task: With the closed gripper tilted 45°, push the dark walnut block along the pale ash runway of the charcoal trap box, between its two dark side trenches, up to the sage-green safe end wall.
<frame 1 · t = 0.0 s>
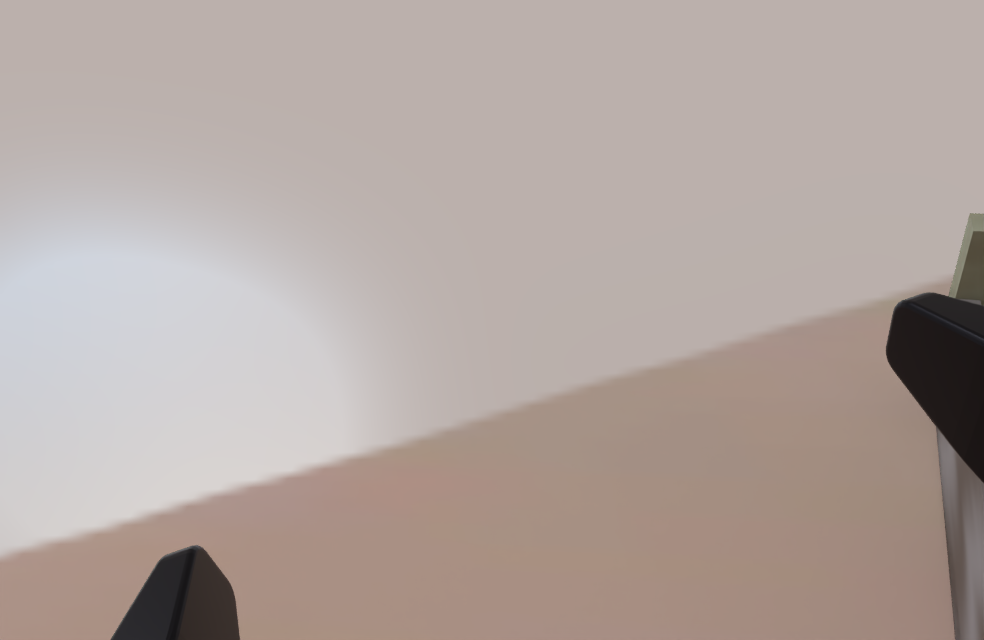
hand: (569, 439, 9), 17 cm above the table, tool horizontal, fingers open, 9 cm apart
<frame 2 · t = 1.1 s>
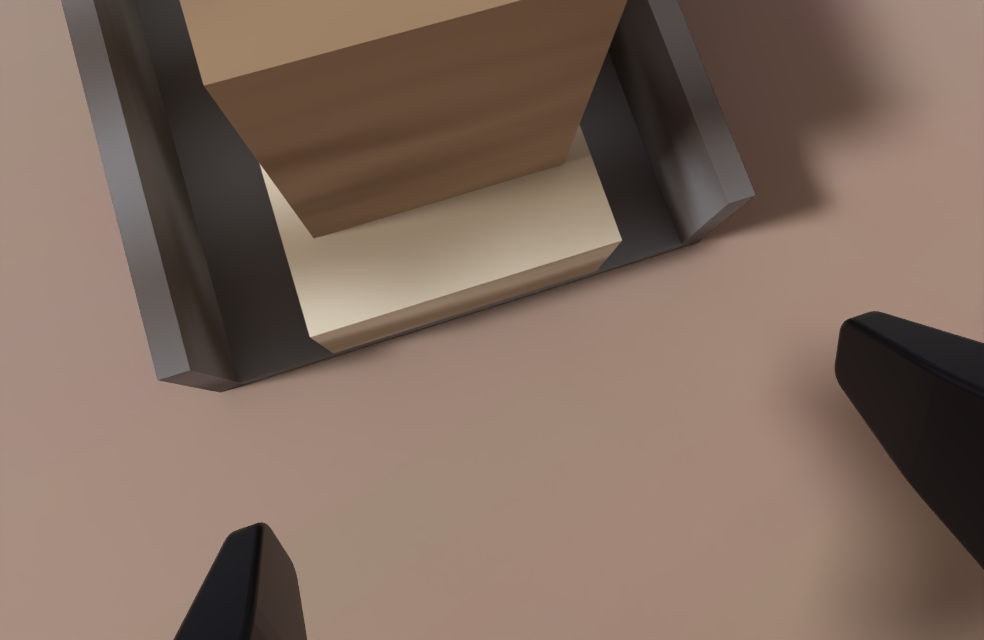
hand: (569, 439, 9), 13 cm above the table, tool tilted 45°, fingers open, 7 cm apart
trap box: (385, 64, 23), on the table
walnut block: (397, 68, 19), point 4 cm above the table, touching trap box
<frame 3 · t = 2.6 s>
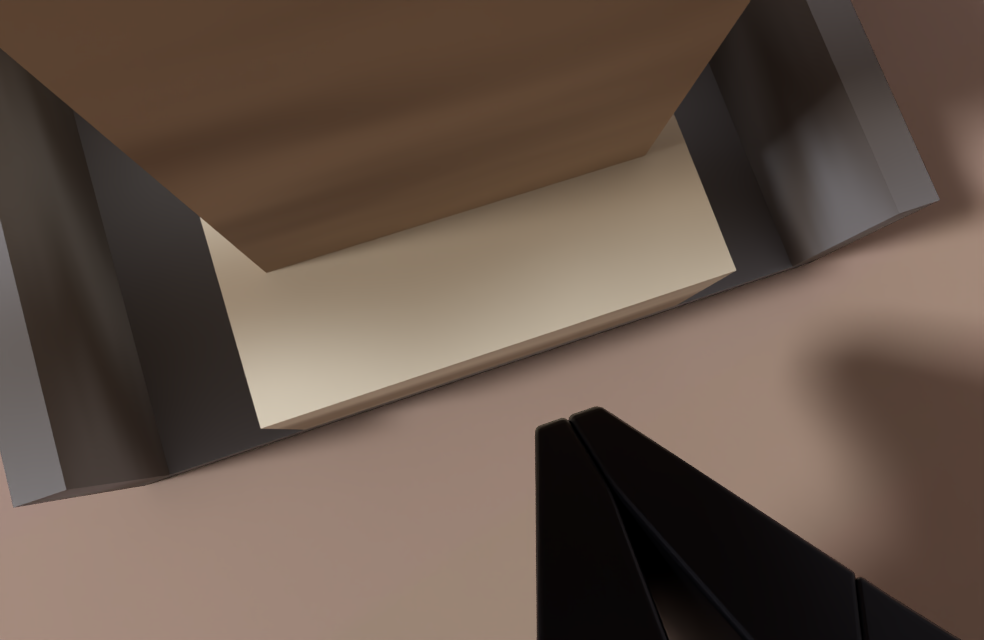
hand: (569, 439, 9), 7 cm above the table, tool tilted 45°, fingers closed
trap box: (376, 21, 17), on the table
walnut block: (392, 13, 13), point 4 cm above the table, touching trap box
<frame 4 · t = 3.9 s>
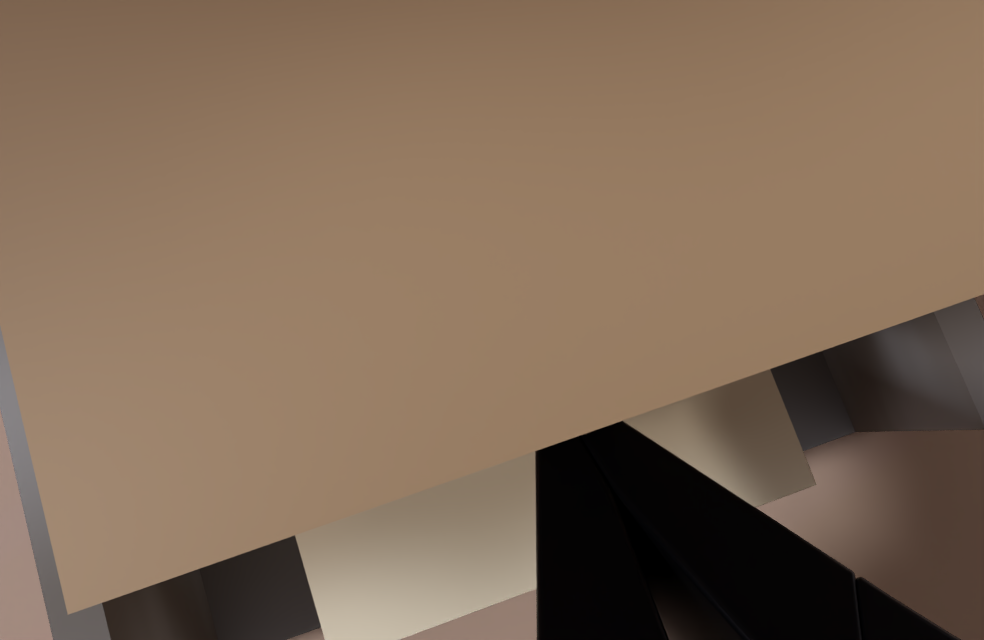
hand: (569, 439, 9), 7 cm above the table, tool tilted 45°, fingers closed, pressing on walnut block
trap box: (426, 171, 17), on the table
walnut block: (459, 212, 12), point 4 cm above the table, touching gripper
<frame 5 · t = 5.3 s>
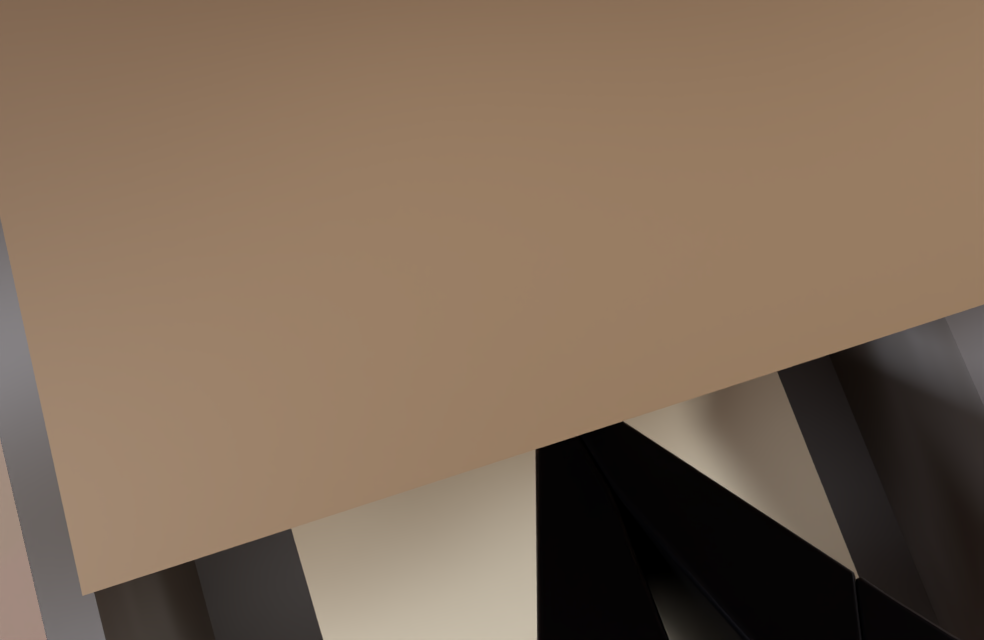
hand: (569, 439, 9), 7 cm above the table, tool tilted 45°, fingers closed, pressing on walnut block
trap box: (502, 388, 16), on the table
walnut block: (473, 200, 12), point 4 cm above the table, touching gripper, trap box
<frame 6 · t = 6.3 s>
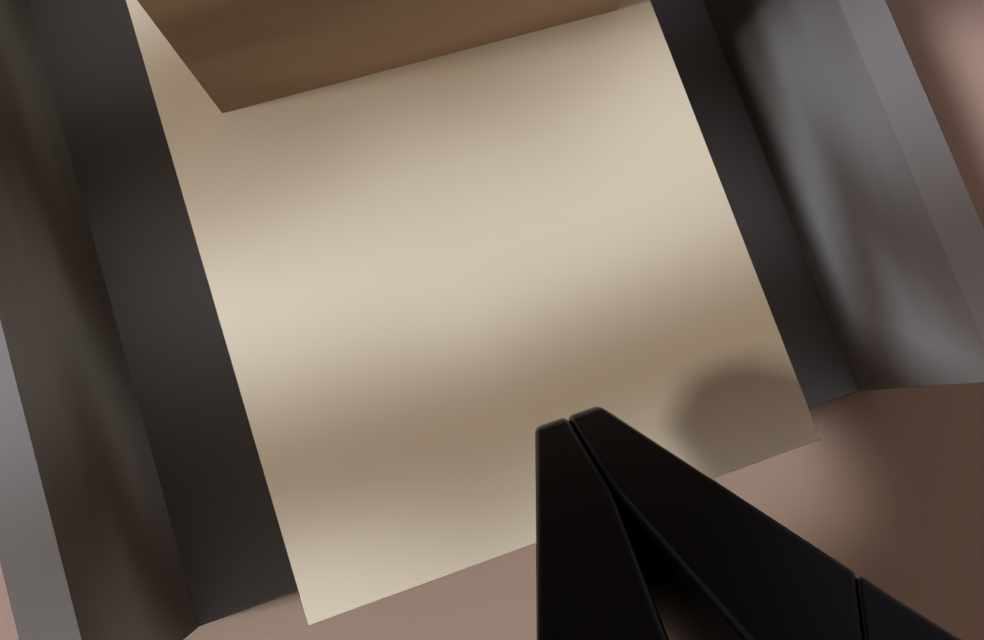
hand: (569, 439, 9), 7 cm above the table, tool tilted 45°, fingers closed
trap box: (412, 117, 16), on the table
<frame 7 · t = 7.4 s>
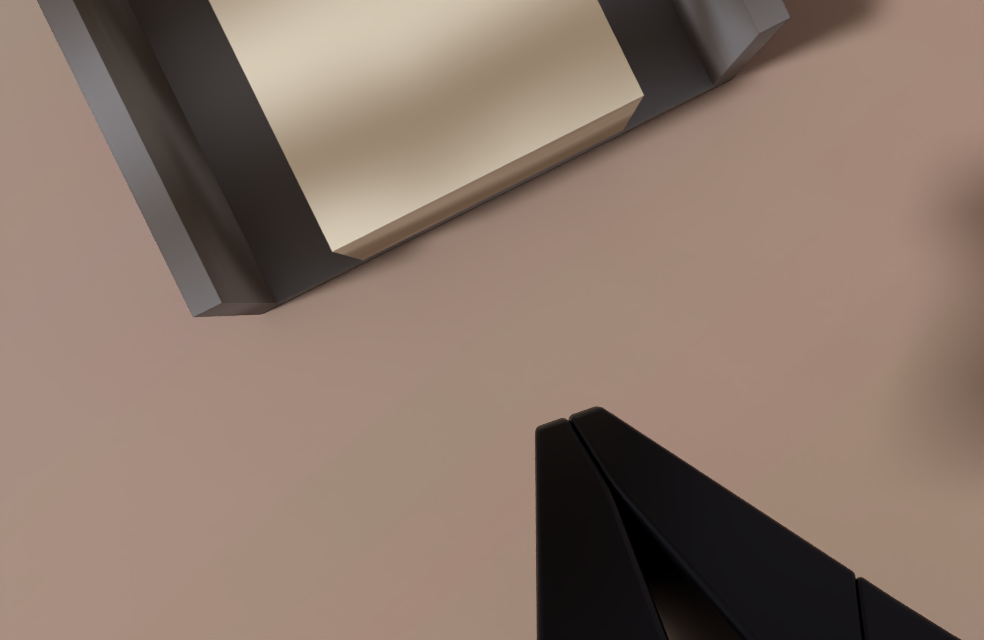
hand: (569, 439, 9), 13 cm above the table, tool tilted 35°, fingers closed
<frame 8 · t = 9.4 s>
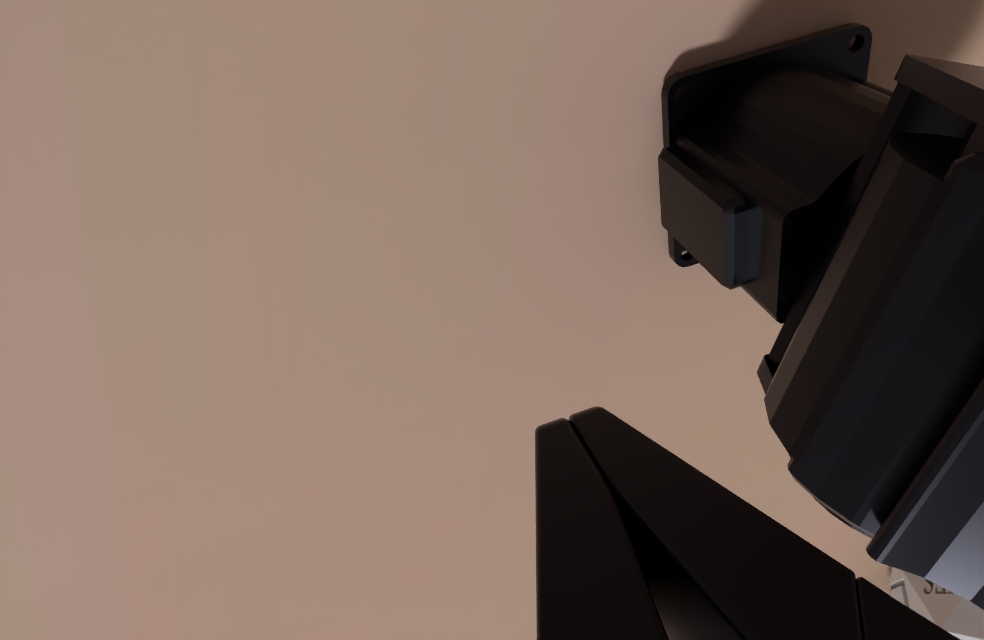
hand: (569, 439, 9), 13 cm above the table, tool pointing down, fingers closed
die: (920, 557, 41), on the table
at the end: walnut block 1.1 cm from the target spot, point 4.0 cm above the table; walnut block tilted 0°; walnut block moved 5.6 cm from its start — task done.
